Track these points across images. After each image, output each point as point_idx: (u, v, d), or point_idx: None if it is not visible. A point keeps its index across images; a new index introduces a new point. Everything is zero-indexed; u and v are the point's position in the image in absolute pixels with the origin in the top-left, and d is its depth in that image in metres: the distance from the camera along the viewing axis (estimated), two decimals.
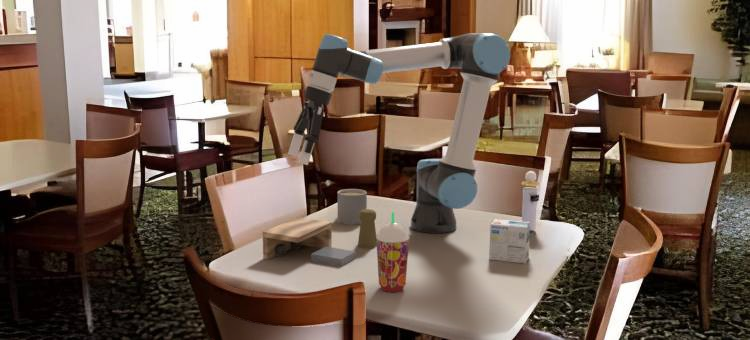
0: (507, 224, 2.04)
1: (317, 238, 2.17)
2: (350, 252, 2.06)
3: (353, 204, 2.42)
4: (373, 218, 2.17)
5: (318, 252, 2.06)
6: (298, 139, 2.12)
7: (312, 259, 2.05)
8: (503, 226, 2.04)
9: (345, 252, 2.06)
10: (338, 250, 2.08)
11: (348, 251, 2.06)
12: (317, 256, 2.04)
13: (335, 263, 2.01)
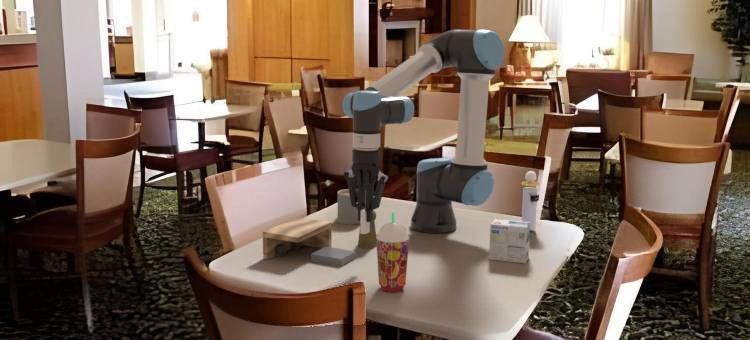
0: (507, 224, 2.04)
1: (317, 238, 2.17)
2: (350, 252, 2.06)
3: None
4: (373, 218, 2.17)
5: (318, 252, 2.06)
6: None
7: (312, 259, 2.05)
8: (503, 226, 2.04)
9: (345, 252, 2.06)
10: (338, 250, 2.08)
11: (348, 252, 2.06)
12: (317, 256, 2.04)
13: (335, 263, 2.01)
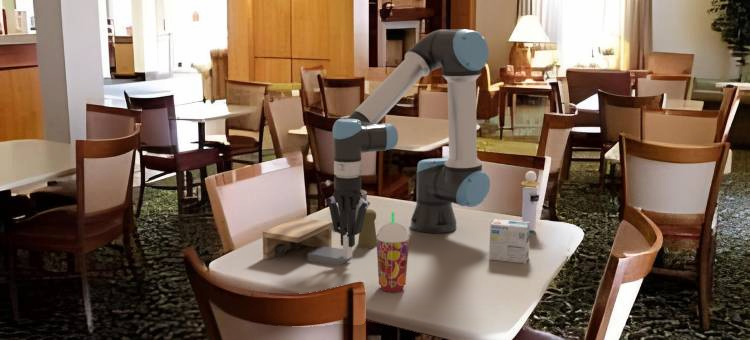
0: (507, 224, 2.04)
1: (317, 238, 2.17)
2: None
3: None
4: (373, 218, 2.17)
5: (315, 251, 2.06)
6: None
7: (309, 258, 2.05)
8: (503, 226, 2.04)
9: (341, 251, 2.06)
10: (335, 249, 2.08)
11: None
12: (314, 256, 2.04)
13: (332, 262, 2.01)
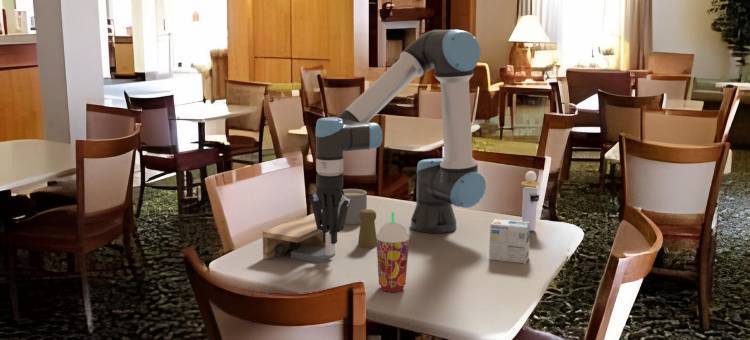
0: (507, 224, 2.04)
1: (317, 238, 2.17)
2: None
3: (353, 204, 2.42)
4: (373, 218, 2.17)
5: (298, 250, 2.09)
6: None
7: (292, 257, 2.07)
8: (503, 226, 2.04)
9: (324, 250, 2.09)
10: (318, 248, 2.11)
11: None
12: (297, 254, 2.06)
13: (314, 260, 2.04)
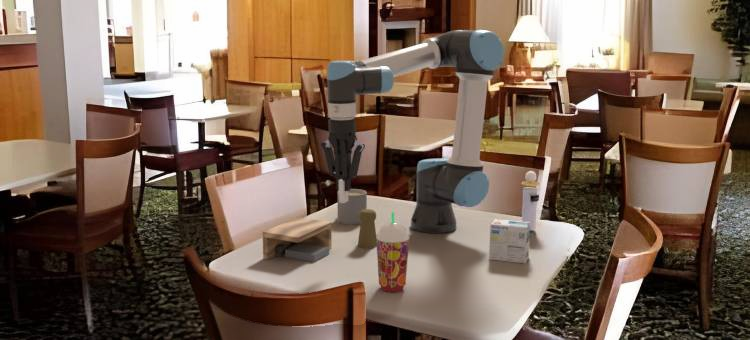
0: (507, 224, 2.04)
1: (317, 238, 2.17)
2: (324, 248, 2.10)
3: (353, 204, 2.42)
4: (373, 218, 2.17)
5: (292, 248, 2.09)
6: None
7: (286, 255, 2.08)
8: (503, 226, 2.04)
9: (319, 248, 2.10)
10: (312, 246, 2.11)
11: (322, 247, 2.10)
12: (291, 252, 2.07)
13: (308, 259, 2.05)
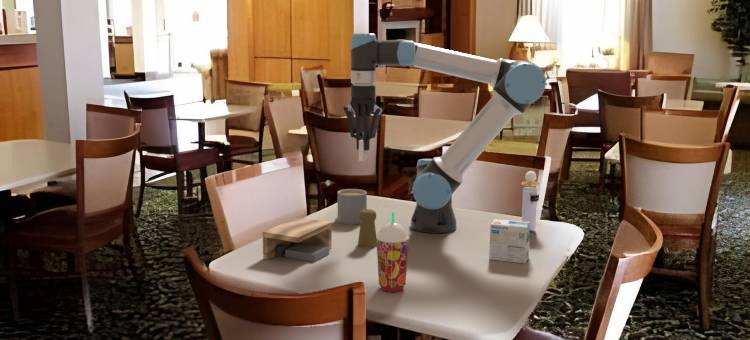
0: (507, 224, 2.04)
1: (317, 238, 2.17)
2: (324, 248, 2.10)
3: (353, 204, 2.42)
4: (373, 218, 2.17)
5: (292, 248, 2.09)
6: None
7: (286, 255, 2.08)
8: (503, 226, 2.04)
9: (319, 248, 2.10)
10: (312, 246, 2.11)
11: (322, 247, 2.10)
12: (291, 252, 2.07)
13: (308, 259, 2.05)
